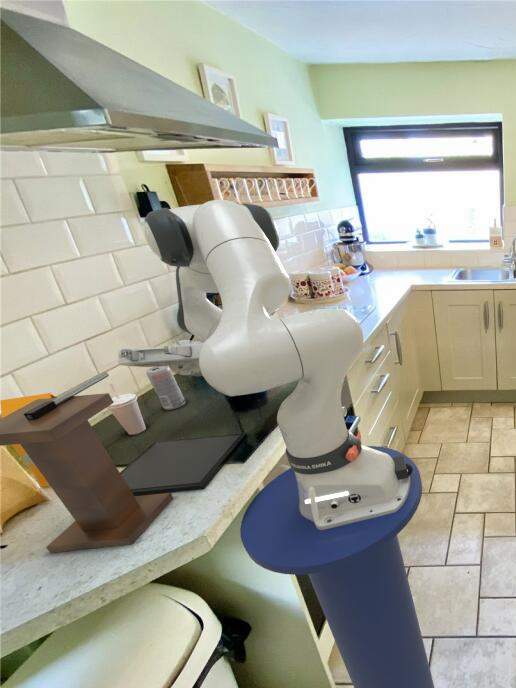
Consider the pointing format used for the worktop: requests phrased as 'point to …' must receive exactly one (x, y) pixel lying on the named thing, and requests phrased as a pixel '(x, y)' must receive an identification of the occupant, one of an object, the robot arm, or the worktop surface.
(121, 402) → the smoothie
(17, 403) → the orange juice
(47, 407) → the stylus
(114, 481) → the brown wooden pedestal
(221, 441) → the tablet
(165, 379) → the energy drink
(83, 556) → the worktop surface
